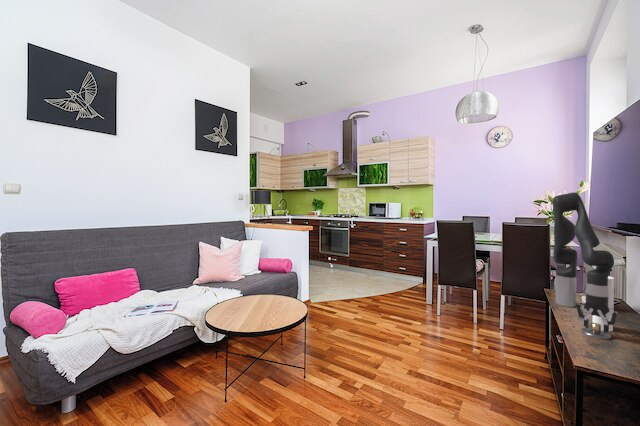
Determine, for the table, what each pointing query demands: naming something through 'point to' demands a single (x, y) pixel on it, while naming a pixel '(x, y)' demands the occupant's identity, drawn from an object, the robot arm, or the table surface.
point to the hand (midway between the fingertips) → (596, 329)
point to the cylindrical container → (610, 305)
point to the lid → (596, 332)
